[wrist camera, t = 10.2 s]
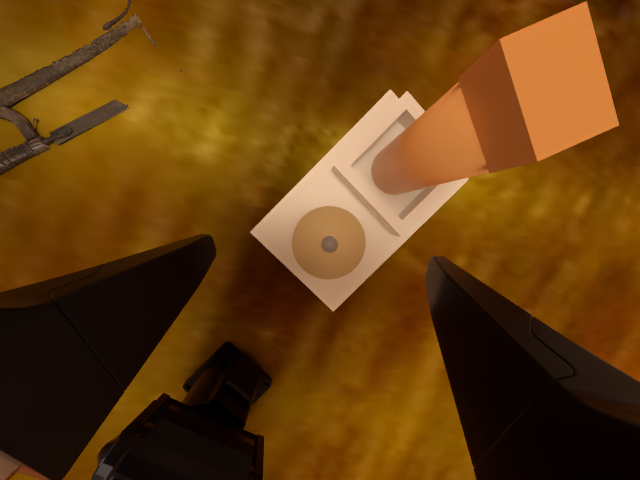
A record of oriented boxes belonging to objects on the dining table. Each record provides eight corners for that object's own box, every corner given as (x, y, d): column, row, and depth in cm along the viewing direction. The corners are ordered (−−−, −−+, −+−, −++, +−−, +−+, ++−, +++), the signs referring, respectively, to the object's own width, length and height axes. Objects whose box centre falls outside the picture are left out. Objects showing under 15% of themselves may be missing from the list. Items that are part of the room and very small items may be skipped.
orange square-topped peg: (381, 202, 22) (520, 175, 8) (363, 157, 21) (476, 41, 7) (424, 183, 22) (639, 122, 8) (407, 138, 21) (604, -15, 7)
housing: (332, 306, 24) (338, 332, 18) (252, 231, 22) (236, 235, 17) (460, 181, 23) (504, 171, 18) (385, 96, 22) (409, 58, 17)
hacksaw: (-9, 188, 21) (-33, 186, 20) (-83, 82, 20) (-114, 71, 19) (220, 66, 21) (214, 55, 20) (160, -48, 20) (148, -69, 19)
